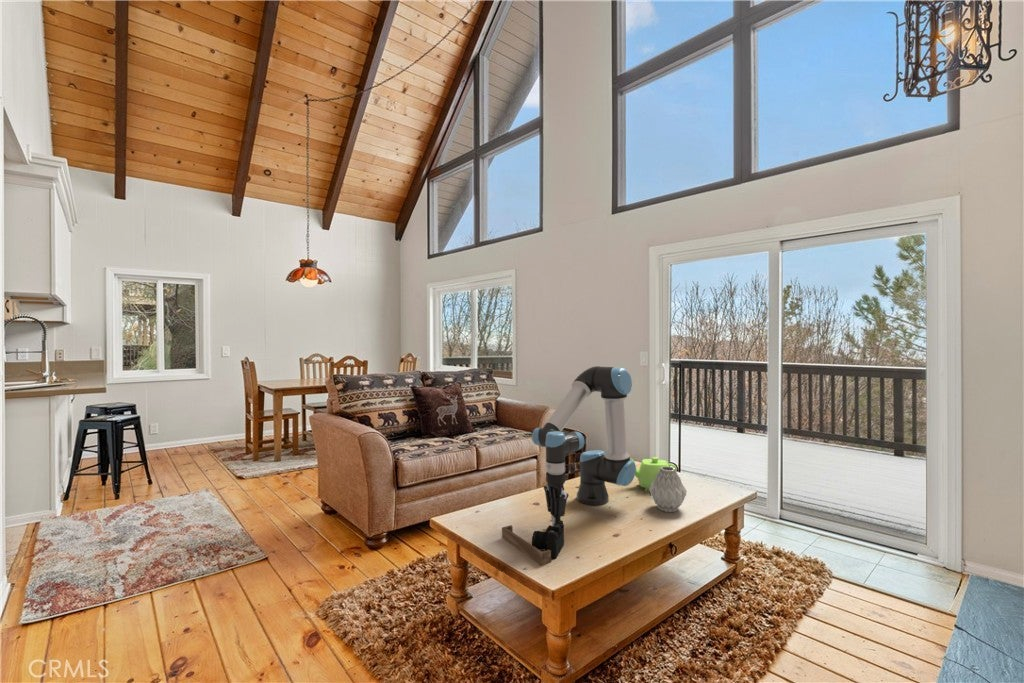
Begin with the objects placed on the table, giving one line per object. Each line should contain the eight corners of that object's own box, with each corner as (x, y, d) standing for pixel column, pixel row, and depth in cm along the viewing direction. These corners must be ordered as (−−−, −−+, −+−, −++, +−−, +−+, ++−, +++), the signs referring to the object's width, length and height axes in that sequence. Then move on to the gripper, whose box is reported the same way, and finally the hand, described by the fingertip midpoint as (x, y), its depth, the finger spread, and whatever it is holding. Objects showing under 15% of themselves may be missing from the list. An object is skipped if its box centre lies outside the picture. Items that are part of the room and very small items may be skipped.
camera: (540, 539, 184) (540, 514, 183) (567, 543, 180) (567, 517, 179) (528, 555, 171) (528, 528, 170) (556, 560, 167) (556, 532, 166)
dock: (511, 535, 187) (510, 525, 187) (550, 561, 165) (550, 550, 165) (502, 537, 185) (501, 527, 185) (541, 565, 163) (541, 553, 163)
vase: (645, 502, 221) (645, 463, 221) (680, 502, 221) (680, 463, 220) (654, 516, 205) (654, 474, 204) (692, 516, 204) (692, 474, 204)
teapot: (674, 481, 251) (674, 451, 251) (679, 495, 230) (679, 463, 230) (626, 478, 257) (626, 449, 256) (626, 491, 236) (626, 460, 235)
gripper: (537, 469, 186) (538, 528, 187) (558, 478, 175) (558, 540, 176) (553, 466, 190) (553, 524, 191) (573, 474, 179) (574, 535, 180)
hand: (556, 531), depth 183 cm, fingers closed
